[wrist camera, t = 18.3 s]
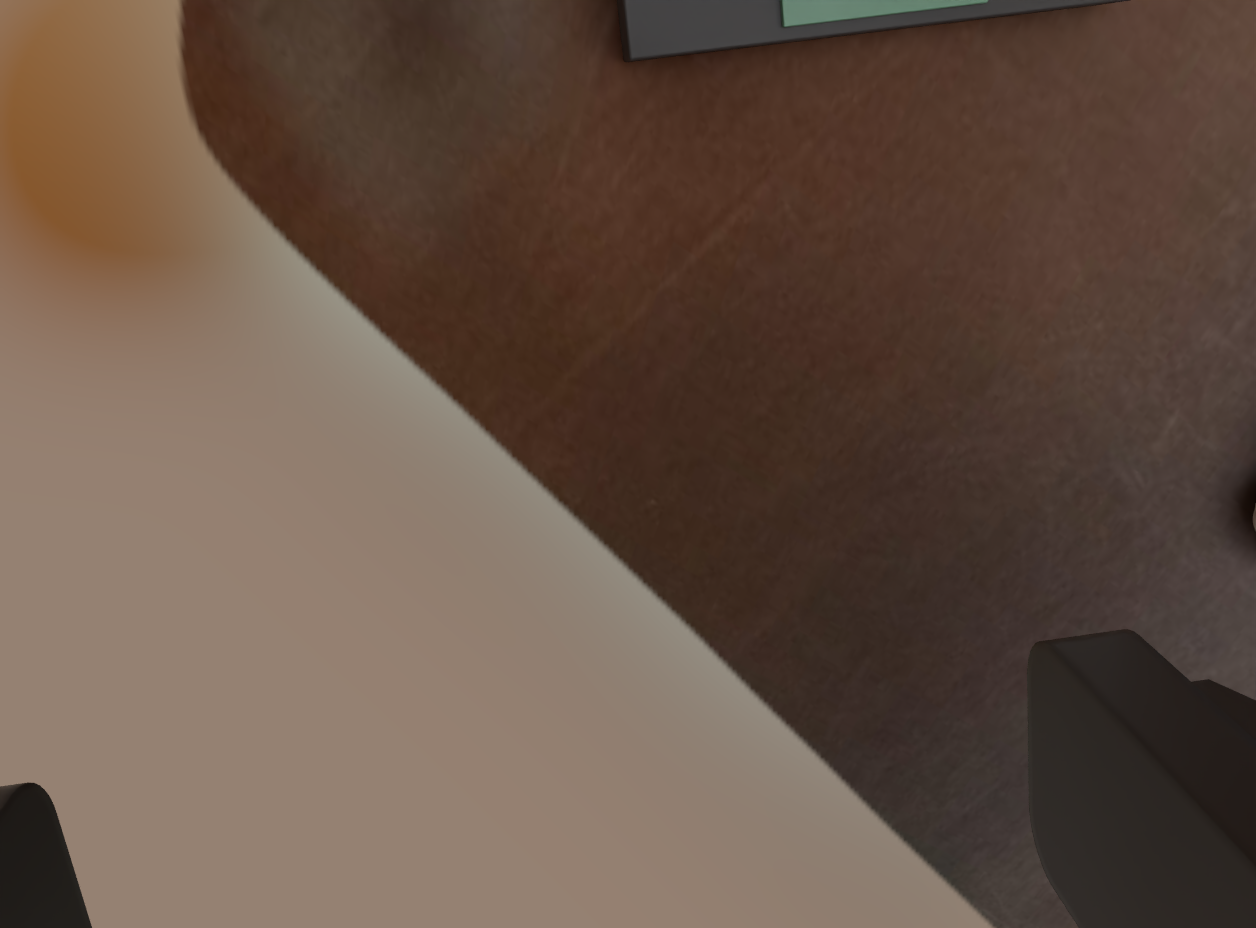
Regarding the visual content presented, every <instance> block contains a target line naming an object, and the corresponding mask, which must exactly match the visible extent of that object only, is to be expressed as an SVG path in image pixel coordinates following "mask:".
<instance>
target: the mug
mask: <svg viewBox="0 0 1256 928" xmlns="http://www.w3.org/2000/svg"><path fill="white" fill-rule="evenodd" d="M1253 526H1254V528H1255V531H1256V505H1255V510H1254V514H1253Z"/></svg>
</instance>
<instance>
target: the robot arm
mask: <svg viewBox="0 0 1256 928" xmlns="http://www.w3.org/2000/svg"><path fill="white" fill-rule="evenodd" d="M1027 690H1028V770H1029V812H1030V821H1031V827H1032V832H1033V837H1034V841H1035V845H1036V848H1037V852H1038V855H1039V858H1040V861H1041V864H1042V866H1043V869H1044V871H1045V873H1046V876H1047V878H1048V880H1049V882H1050V883H1051V885H1052V887H1053V889H1054V890H1055V892H1056V893H1057V895H1058V896H1059V898H1060V899H1061V901H1062V902H1063V904H1064V905H1065V907H1066V909H1067V910H1068V912H1069V913H1070V915H1071V916H1072V918H1073V919H1074V921H1075V922H1076V924H1077V925H1078V927H1079V928H1256V700H1253V699H1251V698H1249V697H1247V696H1245V695H1242V694H1240V693H1238V692H1236V691H1233V690H1231V689H1229V688H1227V687H1225V686H1222V685H1220V684H1218V683H1216V682H1213V681H1211V680H1209V679H1208V680H1201V681H1194V682H1190V681H1189V680H1188V679H1187V678H1186V677H1185V676H1184V675H1183V674H1182V673H1180V672H1179V671H1178V670H1177V669H1176V668H1175V667H1174V666H1173V665H1172V664H1171V663H1169V662H1168V661H1167V660H1166V659H1165V658H1164V657H1163V656H1162V655H1161V654H1159V653H1158V652H1157V651H1156V650H1155V649H1154V648H1153V647H1152V646H1151V645H1149V644H1148V643H1147V642H1146V641H1145V640H1144V639H1143V638H1142V637H1141V636H1139V635H1138V634H1137V633H1135V632H1134V631H1131V630H1125V629H1124V630H1117V631H1110V632H1103V633H1096V634H1089V635H1082V636H1074V637H1067V638H1060V639H1053V640H1046V641H1039V642H1037V643H1035V645H1034V646H1033V647H1032V649H1031V651H1030V655H1029V659H1028V669H1027ZM0 928H92V926H91V923H90V920H89V917H88V914H87V910H86V907H85V904H84V900H83V897H82V894H81V891H80V887H79V884H78V881H77V878H76V874H75V871H74V868H73V865H72V862H71V858H70V855H69V852H68V849H67V845H66V842H65V839H64V836H63V832H62V829H61V826H60V823H59V820H58V816H57V813H56V810H55V807H54V805H53V802H52V800H51V798H50V797H49V795H48V794H47V792H46V791H45V790H44V789H43V788H42V787H41V786H40V785H37V784H35V783H22V784H15V785H8V786H1V787H0Z"/></svg>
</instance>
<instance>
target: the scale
mask: <svg viewBox="0 0 1256 928" xmlns="http://www.w3.org/2000/svg"><path fill="white" fill-rule="evenodd" d="M1122 1H1129V0H617V6H618V15H619V24H620V33H621V42H622V51H623V60H624V62H632V61H640V60H649V59H657V58H665V57H673V56H682V55H690V54H698V53H706V52H715V51H723V50H731V49H739V48H748V47H756V46H764V45H772V44H781V43H789V42H797V41H805V40H814V39H822V38H830V37H838V36H847V35H855V34H863V33H871V32H880V31H888V30H896V29H904V28H913V27H921V26H929V25H937V24H946V23H954V22H962V21H970V20H979V19H987V18H995V17H1003V16H1012V15H1020V14H1028V13H1036V12H1045V11H1053V10H1061V9H1069V8H1078V7H1086V6H1094V5H1101V4H1108V3H1115V2H1122Z"/></svg>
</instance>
